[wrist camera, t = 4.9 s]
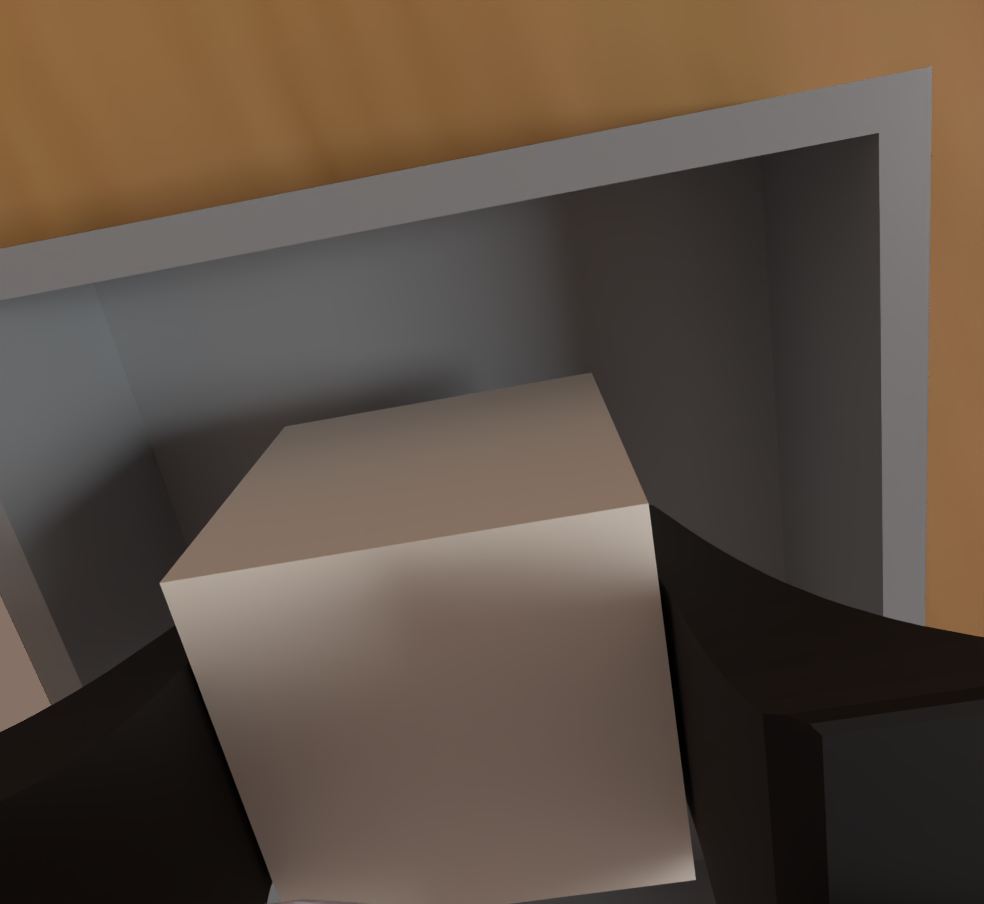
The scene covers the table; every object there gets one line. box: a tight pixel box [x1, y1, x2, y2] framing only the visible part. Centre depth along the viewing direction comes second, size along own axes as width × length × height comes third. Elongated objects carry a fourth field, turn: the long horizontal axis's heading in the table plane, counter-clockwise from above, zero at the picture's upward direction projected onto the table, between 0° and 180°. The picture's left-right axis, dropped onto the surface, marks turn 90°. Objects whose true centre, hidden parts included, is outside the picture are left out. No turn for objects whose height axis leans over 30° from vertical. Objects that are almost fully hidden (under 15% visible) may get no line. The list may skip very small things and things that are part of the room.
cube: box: [160, 372, 696, 904], centre depth 11 cm, size 5×5×5 cm
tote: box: [0, 67, 932, 904], centre depth 15 cm, size 17×13×5 cm
